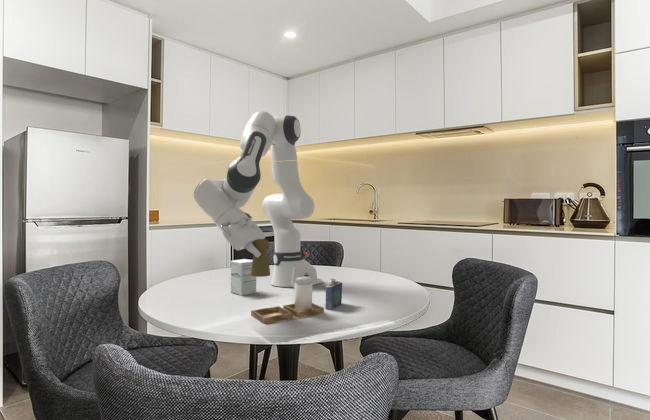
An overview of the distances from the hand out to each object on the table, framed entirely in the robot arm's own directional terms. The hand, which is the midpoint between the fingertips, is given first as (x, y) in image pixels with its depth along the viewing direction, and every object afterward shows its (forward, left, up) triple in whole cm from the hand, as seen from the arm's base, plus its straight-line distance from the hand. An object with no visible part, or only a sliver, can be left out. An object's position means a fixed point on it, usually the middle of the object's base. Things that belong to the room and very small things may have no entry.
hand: (262, 254), depth 123 cm
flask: (-23, +5, -20) cm, 31 cm away
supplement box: (-7, -34, -20) cm, 40 cm away
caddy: (-6, +5, -20) cm, 21 cm away
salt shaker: (-12, +5, -18) cm, 22 cm away
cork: (+1, -1, -6) cm, 7 cm away
